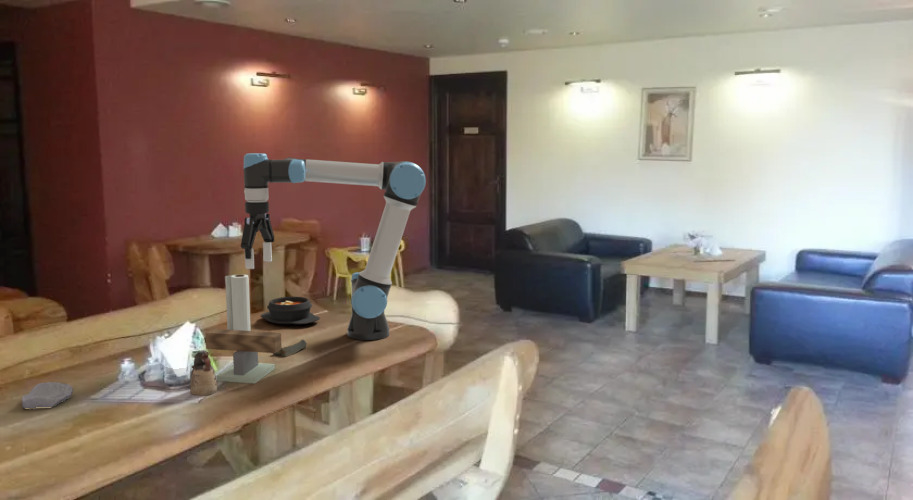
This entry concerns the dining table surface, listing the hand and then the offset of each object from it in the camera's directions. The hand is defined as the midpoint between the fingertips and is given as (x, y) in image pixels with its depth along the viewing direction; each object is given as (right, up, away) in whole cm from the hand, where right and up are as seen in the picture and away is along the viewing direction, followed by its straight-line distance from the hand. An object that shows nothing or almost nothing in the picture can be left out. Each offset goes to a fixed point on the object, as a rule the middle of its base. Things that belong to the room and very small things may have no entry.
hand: (259, 265), depth 245 cm
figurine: (-6, -35, -37) cm, 51 cm away
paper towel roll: (-13, -25, +24) cm, 37 cm away
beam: (+2, -25, -23) cm, 34 cm away
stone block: (-44, -36, -45) cm, 73 cm away
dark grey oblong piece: (+10, -29, +2) cm, 31 cm away
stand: (+2, -33, -22) cm, 39 cm away
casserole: (+1, -23, +40) cm, 46 cm away
